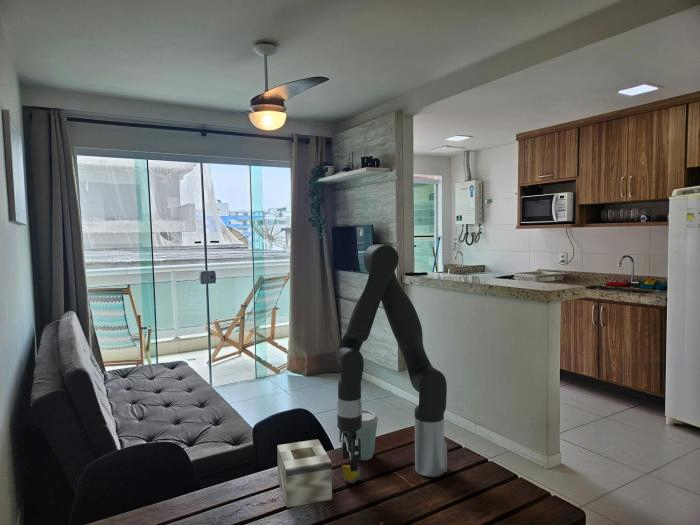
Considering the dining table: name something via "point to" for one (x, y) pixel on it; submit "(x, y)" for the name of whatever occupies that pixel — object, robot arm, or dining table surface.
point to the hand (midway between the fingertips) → (349, 464)
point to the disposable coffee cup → (367, 434)
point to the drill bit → (350, 474)
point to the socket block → (304, 473)
